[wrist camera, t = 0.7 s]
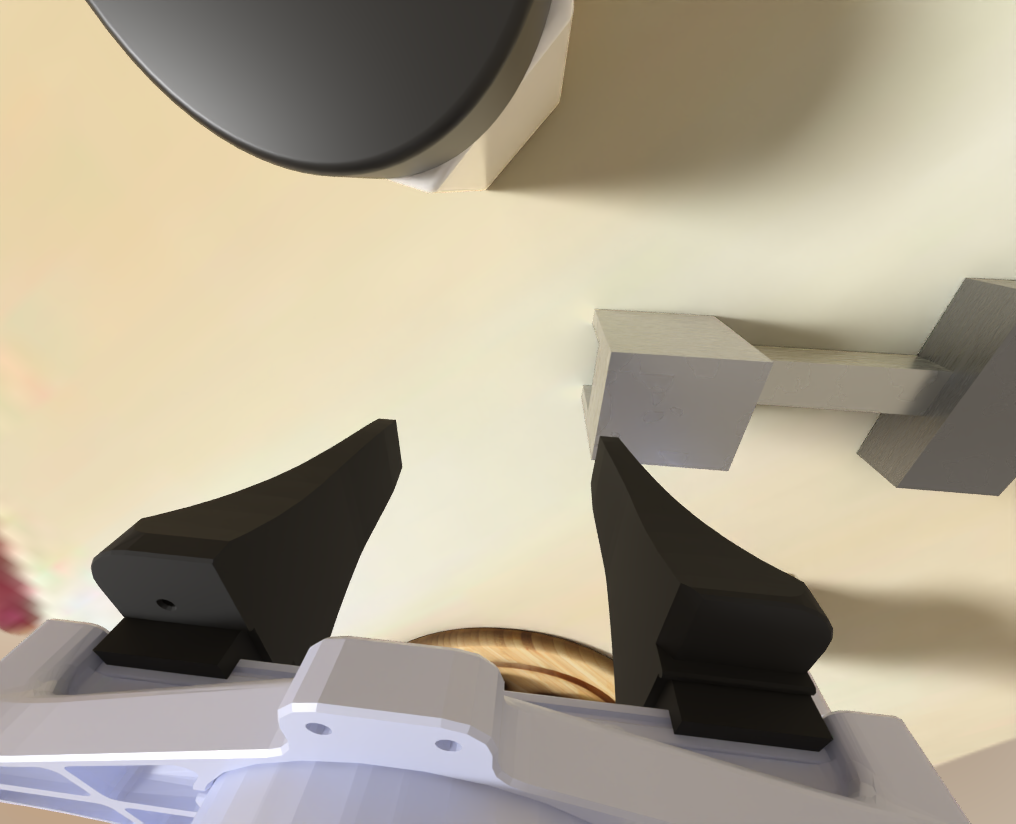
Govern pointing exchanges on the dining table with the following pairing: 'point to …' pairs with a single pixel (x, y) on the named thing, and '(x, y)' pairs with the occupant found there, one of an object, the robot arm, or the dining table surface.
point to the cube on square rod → (672, 387)
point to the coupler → (924, 395)
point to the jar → (358, 79)
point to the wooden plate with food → (536, 662)
